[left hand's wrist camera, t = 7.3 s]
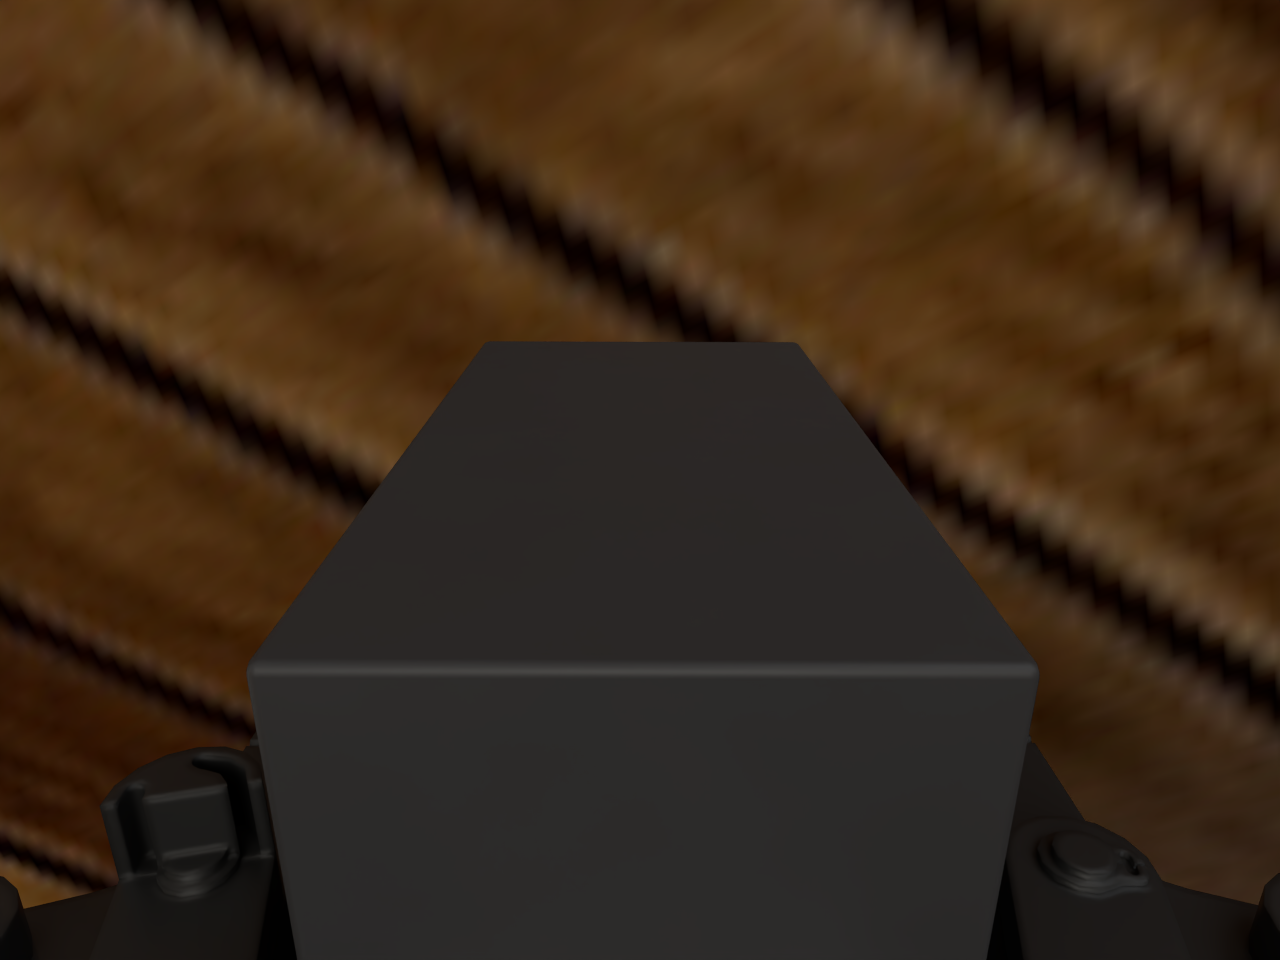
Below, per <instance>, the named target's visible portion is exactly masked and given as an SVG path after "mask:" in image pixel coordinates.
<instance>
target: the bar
mask: <svg viewBox="0 0 1280 960" xmlns="http://www.w3.org/2000/svg"><path fill="white" fill-rule="evenodd" d="M247 680H248V686H249V691H250V697H251V703H252V708H253V714H254V719H255V725H256V731H257V736H258V742H259V747H260V753H261V759H262V764H263V770H264V776H265V781H266V787H267V792H268V798H269V804H270V809H271V815H272V820H273V826H274V832H275V837H276V843H277V849H278V854H279V860H280V865H281V871H282V877H283V882H284V888H285V893H286V899H287V905H288V910H289V916H290V922H291V927H292V933H293V938H294V944H295V950H296V955H297V960H986V959H987V953H988V948H989V943H990V937H991V932H992V927H993V921H994V916H995V911H996V905H997V900H998V895H999V890H1000V884H1001V879H1002V874H1003V868H1004V863H1005V858H1006V852H1007V847H1008V842H1009V836H1010V831H1011V826H1012V820H1013V815H1014V810H1015V804H1016V799H1017V794H1018V788H1019V783H1020V778H1021V773H1022V767H1023V762H1024V757H1025V751H1026V746H1027V741H1028V735H1029V730H1030V725H1031V719H1032V714H1033V709H1034V703H1035V698H1036V693H1037V687H1038V682H1039V670H1038V666H1037V663H1036V662H1035V661H1034V659H1033V658H1032V657H1031V655H1030V654H1029V653H1028V651H1027V650H1026V649H1025V647H1024V646H1023V645H1022V643H1021V642H1020V641H1019V639H1018V638H1017V637H1016V635H1015V634H1014V633H1013V631H1012V630H1011V629H1010V627H1009V626H1008V624H1007V623H1006V622H1005V620H1004V619H1003V618H1002V616H1001V615H1000V614H999V612H998V611H997V610H996V608H995V607H994V606H993V604H992V603H991V602H990V600H989V599H988V598H987V596H986V595H985V594H984V592H983V591H982V590H981V588H980V587H979V586H978V584H977V583H976V582H975V580H974V579H973V578H972V576H971V575H970V574H969V572H968V571H967V570H966V568H965V567H964V566H963V564H962V563H961V562H960V560H959V559H958V558H957V556H956V555H955V554H954V552H953V551H952V550H951V548H950V547H949V546H948V544H947V543H946V542H945V540H944V539H943V538H942V536H941V535H940V534H939V532H938V531H937V530H936V528H935V527H934V526H933V524H932V523H931V522H930V520H929V519H928V517H927V516H926V515H925V513H924V512H923V511H922V509H921V508H920V507H919V505H918V504H917V503H916V501H915V500H914V499H913V497H912V496H911V495H910V493H909V492H908V491H907V489H906V488H905V487H904V485H903V484H902V483H901V481H900V480H899V479H898V477H897V476H896V475H895V473H894V472H893V471H892V469H891V468H890V467H889V465H888V464H887V463H886V461H885V460H884V459H883V457H882V456H881V455H880V453H879V452H878V451H877V449H876V448H875V447H874V445H873V444H872V443H871V441H870V440H869V439H868V437H867V436H866V435H865V433H864V432H863V431H862V429H861V428H860V427H859V425H858V424H857V423H856V421H855V420H854V419H853V417H852V416H851V415H850V413H849V412H848V411H847V409H846V408H845V406H844V405H843V404H842V402H841V401H840V400H839V398H838V397H837V396H836V394H835V393H834V392H833V390H832V389H831V388H830V386H829V385H828V384H827V382H826V381H825V380H824V378H823V377H822V376H821V374H820V373H819V372H818V370H817V369H816V368H815V366H814V365H813V364H812V362H811V361H810V360H809V358H808V357H807V356H806V354H805V353H804V352H803V350H802V349H801V348H800V346H799V345H798V344H796V343H794V342H487V343H485V344H484V345H483V347H482V348H481V349H480V351H479V352H478V353H477V355H476V356H475V357H474V359H473V360H472V361H471V363H470V364H469V366H468V367H467V368H466V370H465V371H464V372H463V374H462V375H461V376H460V378H459V379H458V380H457V382H456V383H455V384H454V386H453V387H452V388H451V390H450V391H449V393H448V394H447V395H446V397H445V398H444V399H443V401H442V402H441V403H440V405H439V406H438V407H437V409H436V410H435V411H434V413H433V414H432V415H431V417H430V418H429V420H428V421H427V422H426V424H425V425H424V426H423V428H422V429H421V430H420V432H419V433H418V434H417V436H416V437H415V438H414V440H413V441H412V442H411V444H410V445H409V447H408V448H407V449H406V451H405V452H404V453H403V455H402V456H401V457H400V459H399V460H398V461H397V463H396V464H395V465H394V467H393V468H392V469H391V471H390V472H389V474H388V475H387V476H386V478H385V479H384V480H383V482H382V483H381V484H380V486H379V487H378V488H377V490H376V491H375V492H374V494H373V495H372V496H371V498H370V499H369V501H368V502H367V503H366V505H365V506H364V507H363V509H362V510H361V511H360V513H359V514H358V515H357V517H356V518H355V519H354V521H353V522H352V523H351V525H350V526H349V527H348V529H347V530H346V532H345V533H344V534H343V536H342V537H341V538H340V540H339V541H338V542H337V544H336V545H335V546H334V548H333V549H332V550H331V552H330V553H329V554H328V556H327V557H326V559H325V560H324V561H323V563H322V564H321V565H320V567H319V568H318V569H317V571H316V572H315V573H314V575H313V576H312V577H311V579H310V580H309V581H308V583H307V584H306V586H305V587H304V588H303V590H302V591H301V592H300V594H299V595H298V596H297V598H296V599H295V600H294V602H293V603H292V604H291V606H290V607H289V608H288V610H287V611H286V613H285V614H284V615H283V617H282V618H281V619H280V621H279V622H278V623H277V625H276V626H275V627H274V629H273V630H272V631H271V633H270V634H269V635H268V637H267V638H266V640H265V641H264V642H263V644H262V645H261V646H260V648H259V649H258V650H257V652H256V653H255V654H254V656H253V657H252V658H251V660H250V661H249V664H248V667H247Z"/></svg>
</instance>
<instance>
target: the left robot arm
mask: <svg viewBox="0 0 1280 960" xmlns="http://www.w3.org/2000/svg"><path fill="white" fill-rule="evenodd" d="M100 809H101V813H102V816H103V820H104V824H105V828H106V832H107V835H108V839H109V843H110V847H111V850H112V854H113V858H114V862H115V866H116V869H117V873H118V877H119V882H118V885H116V886H112V887H109V888H106V889H103V890H99V891H96V892H93V893H89V894H85V895H81V896H76V897H72V898H68V899H64V900H59V901H55V902H51V903H47V904H43V905H38V906H34V907H30V908H26V909H23V906H22V903H21V900H20V896H19V893H18V890H17V889H16V888H15V887H14V886H13V885H12V884H11V883H10V882H9V881H8V880H7V879H5V878H4V877H2V876H0V960H297V955H296V950H295V944H294V938H293V933H292V927H291V922H290V916H289V910H288V905H287V899H286V893H285V888H284V882H283V877H282V871H281V865H280V860H279V854H278V849H277V843H276V837H275V832H274V826H273V820H272V815H271V809H270V804H269V798H268V792H267V787H266V781H265V776H264V770H263V764H262V759H261V753H260V747H259V742H258V736H257V731H256V732H255V734H254V735H253V737H252V738H251V740H250V746H246V748H245V749H244V751H240V750H236V749H232V748H228V747H197V748H193V749H189V750H185V751H181V752H177V753H173V754H169V755H166V756H164V757H162V758H159V759H157V760H155V761H153V762H151V763H148V764H146V765H144V766H142V767H140V768H138V769H136V770H135V771H134V772H132V773H131V774H130V775H128V776H127V777H126V778H124V779H123V780H122V781H120V782H119V783H118V784H116V785H115V786H114V787H113V789H112V790H111V791H110V793H109V794H108V795H107V797H106V798H105V799H104V801H103V802H102V803H101V805H100ZM986 960H1280V873H1278V874H1277V875H1276V876H1275V877H1274V878H1272V879H1271V880H1270V881H1269V882H1268V883H1267V884H1266V885H1265V886H1264V890H1263V893H1262V896H1261V899H1260V902H1259V905H1254V904H1250V903H1245V902H1241V901H1237V900H1233V899H1229V898H1224V897H1220V896H1216V895H1212V894H1207V893H1203V892H1199V891H1195V890H1190V889H1187V888H1184V887H1180V886H1177V885H1174V884H1171V883H1167V882H1164V881H1162V880H1161V878H1160V877H1159V875H1158V874H1157V872H1156V870H1155V869H1154V867H1153V866H1152V864H1151V863H1150V861H1149V859H1148V858H1147V857H1146V856H1145V855H1144V854H1142V853H1141V852H1140V851H1139V850H1138V849H1137V848H1135V847H1134V846H1133V845H1132V844H1131V843H1129V842H1128V841H1127V840H1126V839H1125V838H1123V837H1121V836H1119V835H1117V834H1115V833H1113V832H1111V831H1109V830H1107V829H1105V828H1103V827H1101V826H1099V825H1098V824H1094V823H1091V822H1087V821H1085V820H1084V818H1083V817H1082V815H1081V814H1080V812H1079V811H1078V809H1077V808H1076V806H1075V805H1074V803H1073V801H1072V800H1071V798H1070V797H1069V795H1068V794H1067V792H1066V791H1065V789H1064V788H1063V786H1062V784H1061V783H1060V781H1059V780H1058V778H1057V777H1056V775H1055V774H1054V772H1053V771H1052V769H1051V767H1050V766H1049V764H1048V763H1047V761H1046V760H1045V758H1044V757H1043V755H1042V754H1041V752H1040V750H1039V749H1038V747H1037V746H1036V744H1035V743H1031V737H1030V735H1028V741H1027V746H1026V751H1025V757H1024V762H1023V767H1022V773H1021V778H1020V783H1019V788H1018V794H1017V799H1016V804H1015V810H1014V815H1013V820H1012V826H1011V831H1010V836H1009V842H1008V847H1007V852H1006V858H1005V863H1004V868H1003V874H1002V879H1001V884H1000V890H999V895H998V900H997V905H996V911H995V916H994V921H993V927H992V932H991V937H990V943H989V948H988V953H987V959H986Z"/></svg>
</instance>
